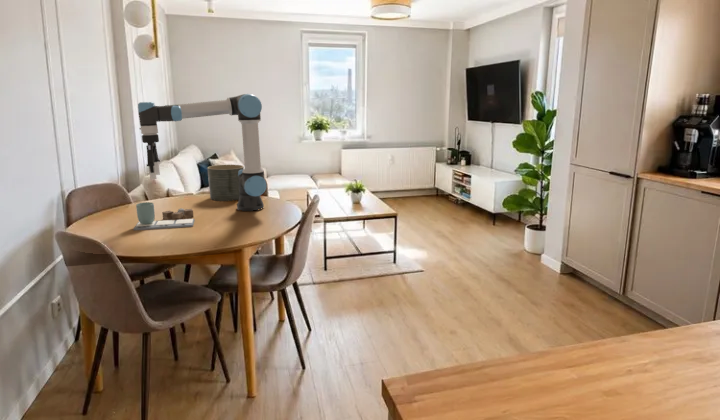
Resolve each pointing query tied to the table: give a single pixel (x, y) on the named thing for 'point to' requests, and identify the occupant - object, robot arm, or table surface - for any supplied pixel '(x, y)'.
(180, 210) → the grey ball
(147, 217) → the cup
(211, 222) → the table surface
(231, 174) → the planter
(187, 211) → the walnut block
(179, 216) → the walnut block
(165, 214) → the walnut block
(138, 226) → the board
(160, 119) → the robot arm
